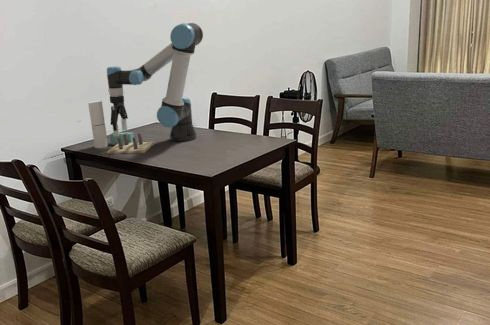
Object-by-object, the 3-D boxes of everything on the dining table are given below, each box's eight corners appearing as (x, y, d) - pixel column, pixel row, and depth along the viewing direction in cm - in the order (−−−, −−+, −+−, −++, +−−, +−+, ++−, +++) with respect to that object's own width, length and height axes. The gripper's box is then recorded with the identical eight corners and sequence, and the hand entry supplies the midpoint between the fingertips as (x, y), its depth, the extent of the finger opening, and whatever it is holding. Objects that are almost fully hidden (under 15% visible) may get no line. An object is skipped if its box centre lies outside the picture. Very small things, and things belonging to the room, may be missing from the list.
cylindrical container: (104, 148, 267) (97, 102, 260) (92, 148, 269) (85, 103, 262) (110, 144, 274) (104, 100, 267) (98, 144, 276) (92, 100, 268)
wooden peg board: (154, 143, 270) (152, 131, 268) (144, 152, 253) (142, 139, 251) (119, 144, 273) (117, 132, 271) (107, 153, 256) (105, 140, 253)
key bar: (134, 142, 277) (133, 132, 275) (131, 144, 272) (130, 134, 271) (114, 142, 279) (113, 132, 277) (111, 144, 274) (109, 134, 273)
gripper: (117, 91, 280) (121, 128, 286) (101, 99, 256) (106, 138, 262) (130, 91, 279) (134, 127, 285) (115, 99, 255) (119, 138, 262)
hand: (120, 133), depth 274 cm, fingers open, 13 cm apart
